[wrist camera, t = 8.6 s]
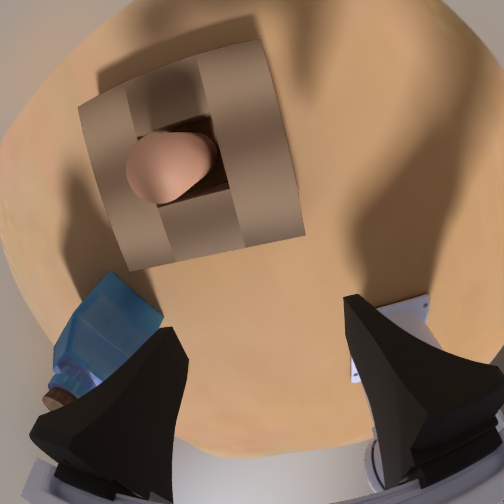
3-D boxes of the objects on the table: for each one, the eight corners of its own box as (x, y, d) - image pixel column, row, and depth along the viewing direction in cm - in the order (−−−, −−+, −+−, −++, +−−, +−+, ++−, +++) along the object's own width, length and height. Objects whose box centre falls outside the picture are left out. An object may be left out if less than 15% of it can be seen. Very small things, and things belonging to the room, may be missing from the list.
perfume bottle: (110, 270, 22) (30, 367, 11) (164, 316, 23) (115, 430, 12) (85, 307, 23) (21, 394, 13) (131, 346, 25) (86, 443, 14)
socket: (299, 220, 19) (305, 235, 17) (144, 253, 21) (129, 271, 18) (260, 53, 15) (260, 39, 12) (100, 108, 16) (77, 107, 13)
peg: (223, 170, 18) (202, 191, 12) (179, 184, 19) (139, 212, 12) (209, 126, 17) (179, 122, 10) (165, 141, 17) (117, 148, 11)
